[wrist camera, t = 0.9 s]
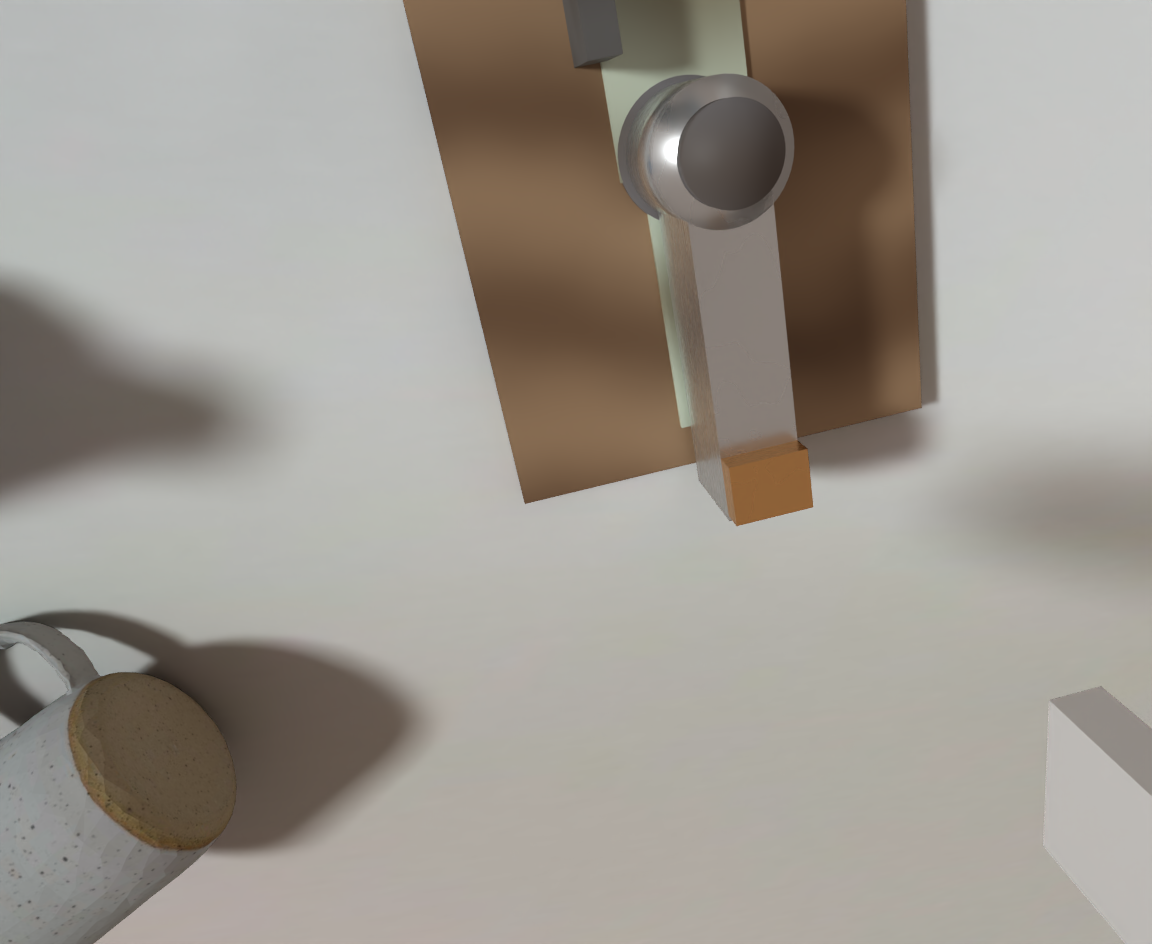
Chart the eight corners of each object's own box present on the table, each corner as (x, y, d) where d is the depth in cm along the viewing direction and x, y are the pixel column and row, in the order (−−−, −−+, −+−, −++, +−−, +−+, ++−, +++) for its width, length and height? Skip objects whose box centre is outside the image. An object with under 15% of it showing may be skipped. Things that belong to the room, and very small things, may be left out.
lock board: (322, -333, 22) (284, -486, 17) (870, -430, 23) (1003, -604, 18) (522, 493, 31) (539, 567, 26) (907, 400, 32) (1002, 453, 27)
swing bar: (615, 96, 26) (647, 88, 22) (743, 69, 26) (798, 57, 22) (678, 485, 31) (714, 537, 27) (785, 459, 31) (836, 506, 27)
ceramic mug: (271, 742, 34) (223, 900, 27) (119, 856, 35) (33, 1039, 27) (52, 559, 30) (-72, 686, 23) (-112, 692, 31) (-281, 855, 24)
